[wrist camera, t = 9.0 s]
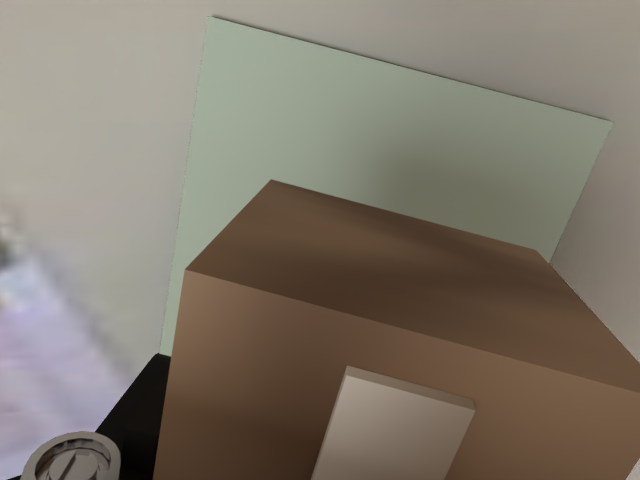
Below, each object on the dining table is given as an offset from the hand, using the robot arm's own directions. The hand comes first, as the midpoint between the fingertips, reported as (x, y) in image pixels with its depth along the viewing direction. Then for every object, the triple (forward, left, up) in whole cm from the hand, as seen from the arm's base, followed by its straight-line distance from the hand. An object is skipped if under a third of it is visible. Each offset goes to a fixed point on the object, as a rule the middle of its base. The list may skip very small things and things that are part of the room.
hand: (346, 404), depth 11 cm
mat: (0, 0, -10) cm, 10 cm away
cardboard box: (0, 0, -1) cm, 1 cm away
